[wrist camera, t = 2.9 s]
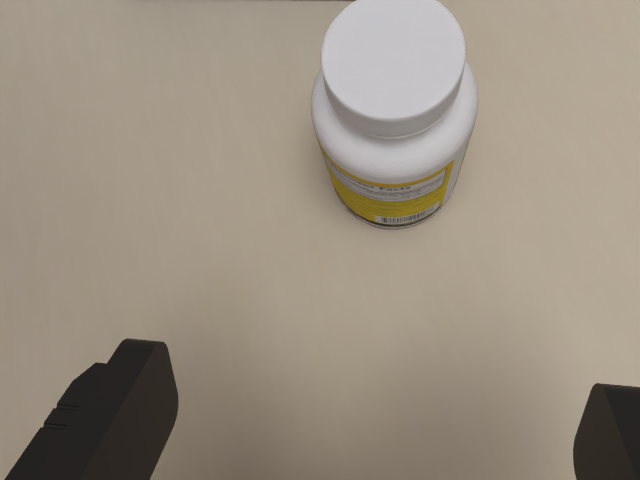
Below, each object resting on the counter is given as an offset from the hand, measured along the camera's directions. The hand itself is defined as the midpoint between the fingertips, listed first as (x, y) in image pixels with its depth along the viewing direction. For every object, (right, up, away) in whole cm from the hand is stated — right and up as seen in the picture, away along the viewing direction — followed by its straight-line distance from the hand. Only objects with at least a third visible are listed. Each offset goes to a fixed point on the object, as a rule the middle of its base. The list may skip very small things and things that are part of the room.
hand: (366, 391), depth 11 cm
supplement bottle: (+2, +6, +14) cm, 16 cm away
